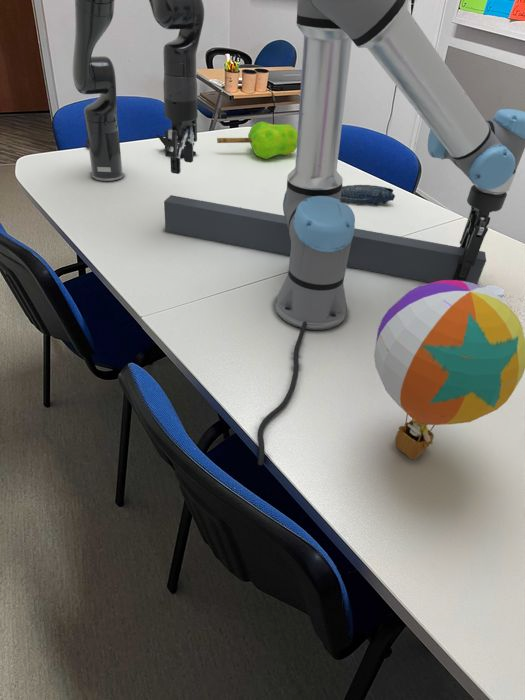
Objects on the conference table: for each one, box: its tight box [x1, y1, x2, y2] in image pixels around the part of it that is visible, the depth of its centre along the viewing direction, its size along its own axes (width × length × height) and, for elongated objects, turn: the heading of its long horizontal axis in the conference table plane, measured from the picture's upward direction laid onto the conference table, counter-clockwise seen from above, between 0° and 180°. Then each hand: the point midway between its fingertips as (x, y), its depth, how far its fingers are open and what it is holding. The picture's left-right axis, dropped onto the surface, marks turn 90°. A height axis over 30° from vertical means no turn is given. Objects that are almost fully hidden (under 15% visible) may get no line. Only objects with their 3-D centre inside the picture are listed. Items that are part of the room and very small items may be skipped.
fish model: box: [340, 184, 396, 206], centre depth 161 cm, size 7×21×5 cm, turn 84°
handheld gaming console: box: [156, 133, 197, 159], centre depth 183 cm, size 12×7×10 cm
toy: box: [373, 280, 525, 460], centre depth 74 cm, size 20×20×30 cm
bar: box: [163, 194, 487, 285], centre depth 130 cm, size 79×4×8 cm, turn 75°
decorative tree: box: [216, 121, 298, 160], centre depth 186 cm, size 18×10×30 cm
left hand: (182, 167), depth 127 cm, fingers open, 8 cm apart
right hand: (456, 281), depth 127 cm, fingers closed on bar, 4 cm apart
